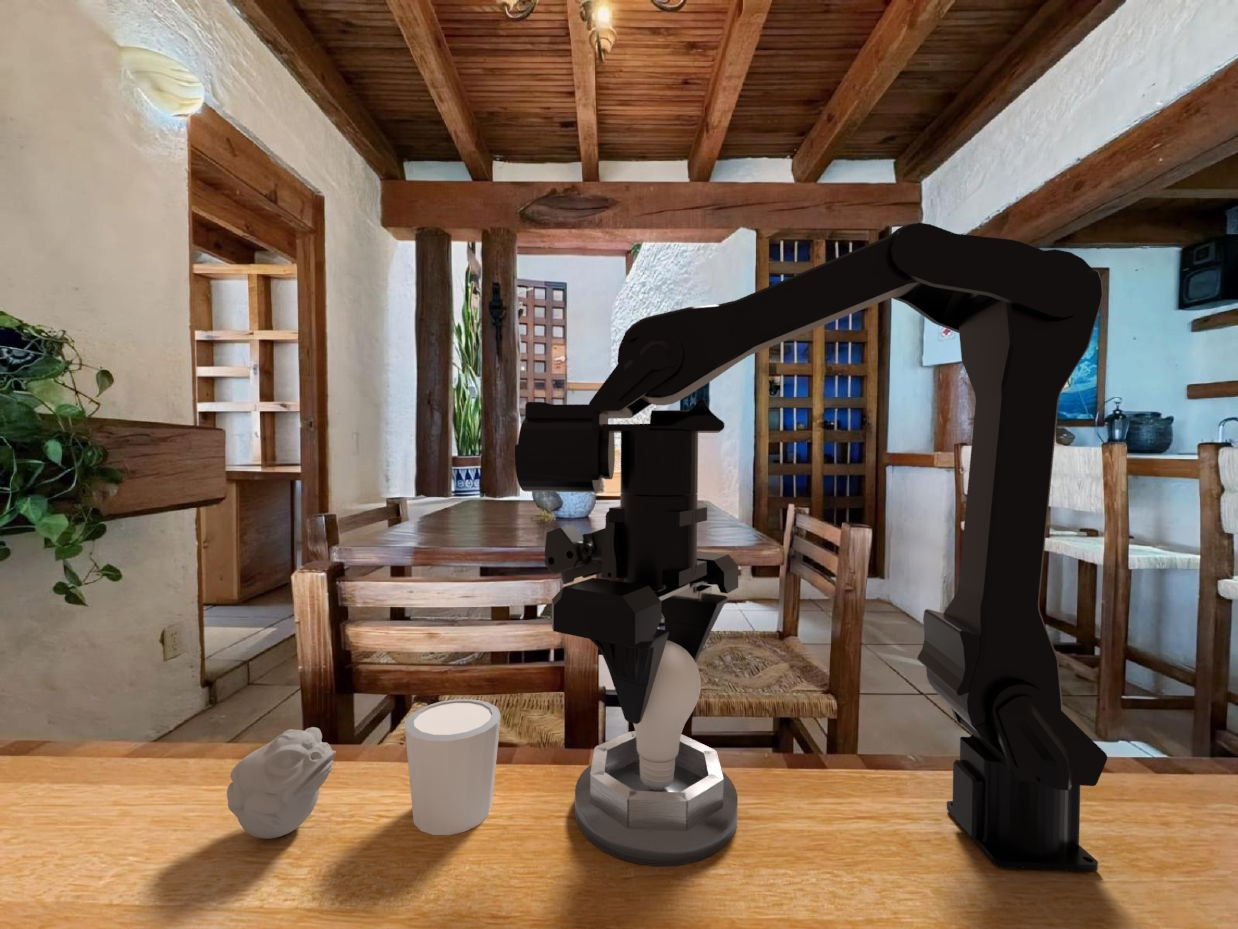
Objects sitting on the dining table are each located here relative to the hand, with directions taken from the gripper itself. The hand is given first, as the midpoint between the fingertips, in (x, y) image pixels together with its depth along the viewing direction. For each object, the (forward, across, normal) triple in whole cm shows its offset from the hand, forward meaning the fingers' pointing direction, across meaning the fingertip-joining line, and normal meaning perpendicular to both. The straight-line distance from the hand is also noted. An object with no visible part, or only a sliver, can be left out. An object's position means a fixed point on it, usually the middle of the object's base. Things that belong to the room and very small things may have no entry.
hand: (657, 703), depth 43 cm
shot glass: (+8, +8, -13) cm, 17 cm away
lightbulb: (+7, 0, 0) cm, 7 cm away
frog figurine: (+8, +16, -21) cm, 28 cm away
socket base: (+8, 0, 0) cm, 8 cm away
